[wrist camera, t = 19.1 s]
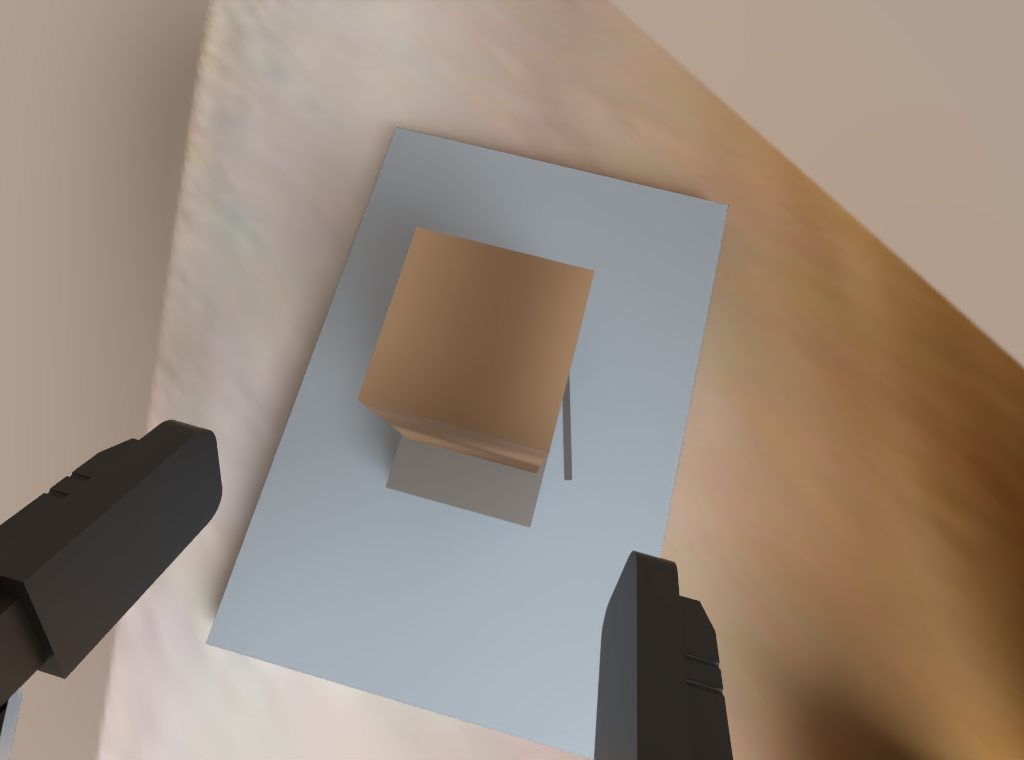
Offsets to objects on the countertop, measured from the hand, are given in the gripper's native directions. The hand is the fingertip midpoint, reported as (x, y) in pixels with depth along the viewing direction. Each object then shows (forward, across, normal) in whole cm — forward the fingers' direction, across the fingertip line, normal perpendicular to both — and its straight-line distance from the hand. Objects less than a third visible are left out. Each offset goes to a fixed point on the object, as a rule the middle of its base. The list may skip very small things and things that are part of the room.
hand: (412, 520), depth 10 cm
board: (+12, 0, +5) cm, 13 cm away
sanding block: (+11, 0, +4) cm, 12 cm away
